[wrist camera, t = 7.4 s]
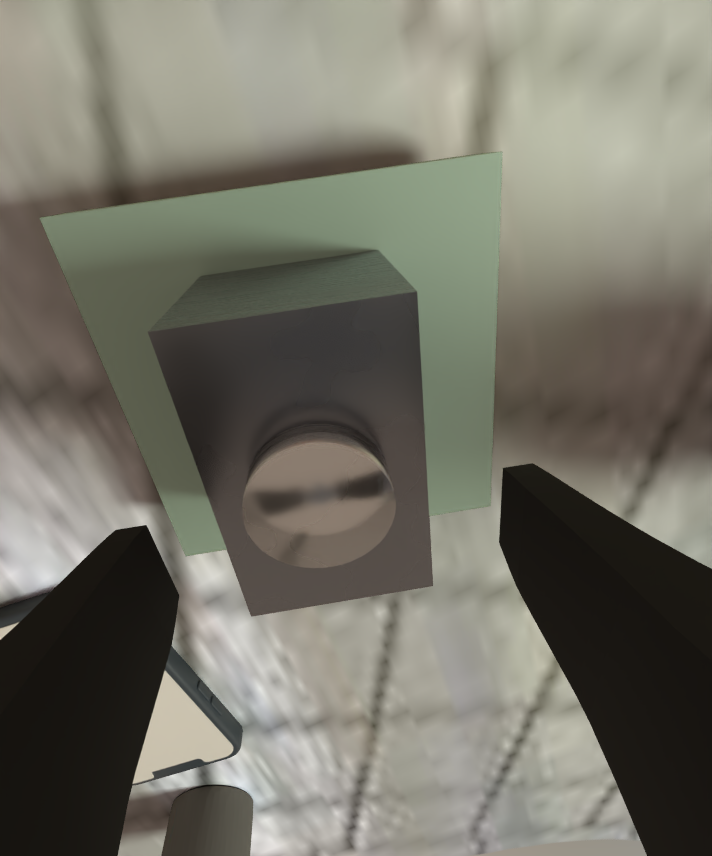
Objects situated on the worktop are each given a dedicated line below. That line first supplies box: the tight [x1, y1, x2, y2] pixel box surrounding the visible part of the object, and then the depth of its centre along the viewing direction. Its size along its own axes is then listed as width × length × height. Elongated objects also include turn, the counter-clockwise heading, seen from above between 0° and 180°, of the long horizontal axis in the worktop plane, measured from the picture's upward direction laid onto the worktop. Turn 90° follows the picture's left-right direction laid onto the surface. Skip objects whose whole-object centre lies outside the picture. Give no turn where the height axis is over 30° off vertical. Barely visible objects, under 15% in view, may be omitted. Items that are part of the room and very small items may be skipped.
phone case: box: [0, 592, 243, 785], centre depth 26 cm, size 9×2×16 cm
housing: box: [148, 250, 433, 616], centre depth 12 cm, size 5×8×6 cm, turn 7°
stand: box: [40, 152, 502, 556], centre depth 16 cm, size 12×12×3 cm
